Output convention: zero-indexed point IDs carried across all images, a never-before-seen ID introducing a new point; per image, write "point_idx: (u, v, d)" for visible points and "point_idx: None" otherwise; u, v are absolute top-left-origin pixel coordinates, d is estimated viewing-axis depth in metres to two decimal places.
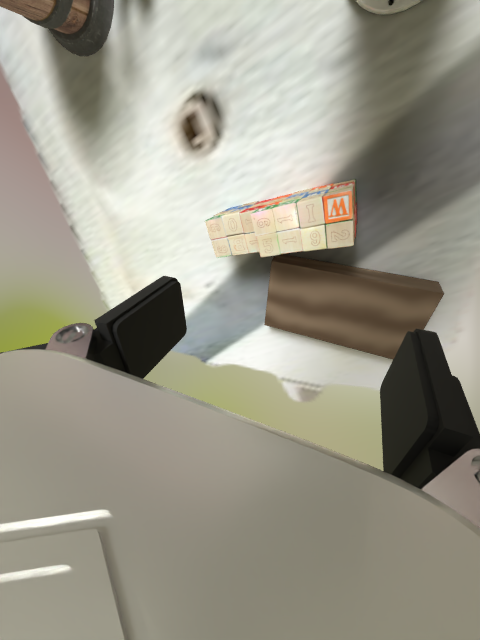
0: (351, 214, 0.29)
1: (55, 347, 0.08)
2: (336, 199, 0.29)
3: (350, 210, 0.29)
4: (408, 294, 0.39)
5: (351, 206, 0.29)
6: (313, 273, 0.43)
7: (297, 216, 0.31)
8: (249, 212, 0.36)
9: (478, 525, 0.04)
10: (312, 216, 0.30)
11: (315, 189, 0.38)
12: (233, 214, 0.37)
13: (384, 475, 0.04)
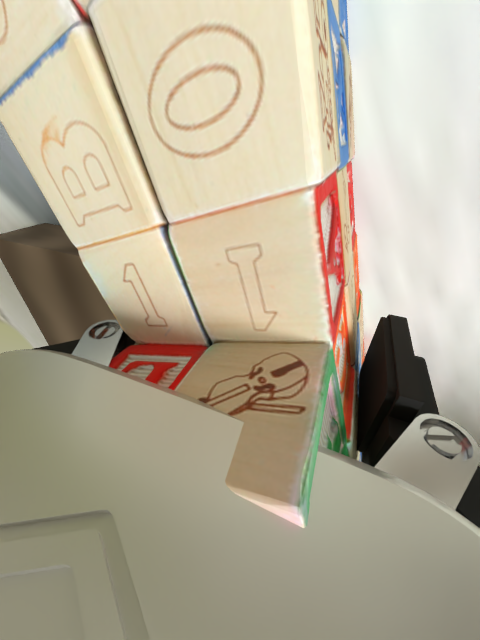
0: None
1: (90, 343, 0.08)
2: None
3: None
4: None
5: None
6: None
7: None
8: (313, 286, 0.05)
9: (418, 471, 0.05)
10: None
11: None
12: (303, 104, 0.03)
13: (384, 475, 0.04)
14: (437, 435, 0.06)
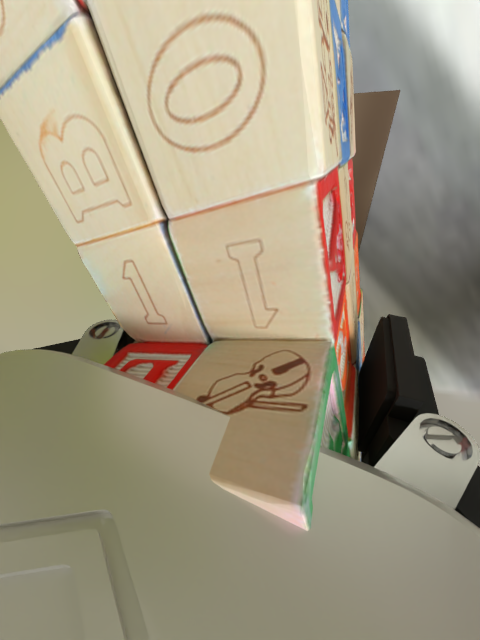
0: None
1: (90, 343, 0.08)
2: None
3: None
4: None
5: None
6: (359, 208, 0.21)
7: None
8: (315, 282, 0.04)
9: (418, 471, 0.05)
10: None
11: None
12: (305, 96, 0.03)
13: (384, 475, 0.04)
14: (437, 435, 0.06)
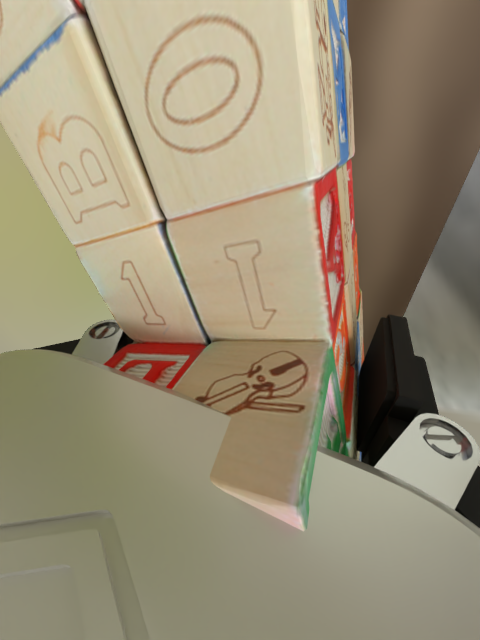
0: None
1: (90, 343, 0.08)
2: None
3: None
4: None
5: None
6: (454, 162, 0.14)
7: None
8: (312, 283, 0.04)
9: (417, 471, 0.05)
10: None
11: None
12: (302, 97, 0.03)
13: (384, 475, 0.04)
14: (437, 435, 0.06)
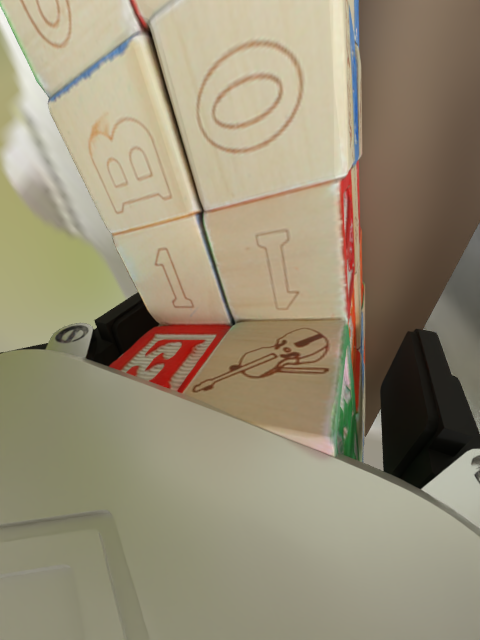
0: None
1: (55, 347, 0.08)
2: None
3: None
4: None
5: None
6: None
7: None
8: (333, 267, 0.05)
9: (478, 525, 0.04)
10: None
11: None
12: (335, 109, 0.04)
13: (384, 475, 0.04)
14: None
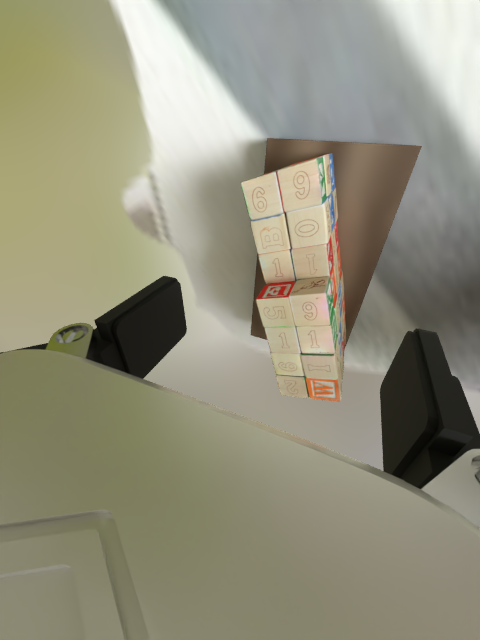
0: (314, 398, 0.26)
1: (55, 347, 0.08)
2: (332, 389, 0.25)
3: (318, 397, 0.26)
4: None
5: (323, 398, 0.26)
6: (380, 231, 0.27)
7: (316, 353, 0.23)
8: (326, 262, 0.21)
9: (478, 525, 0.04)
10: (315, 368, 0.24)
11: (342, 303, 0.31)
12: (325, 231, 0.20)
13: (384, 475, 0.04)
14: None
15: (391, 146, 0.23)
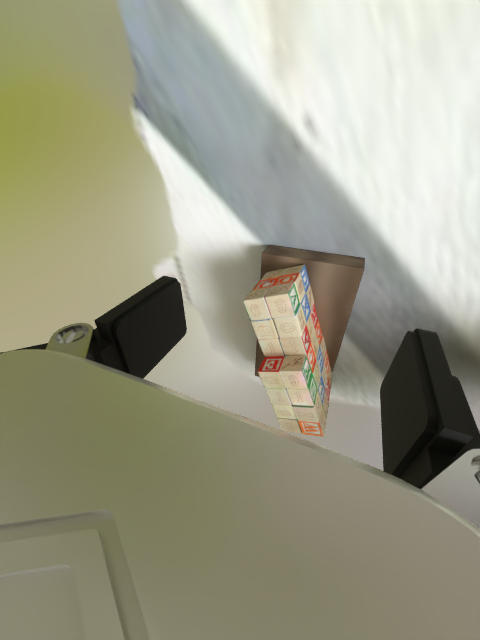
0: None
1: (55, 347, 0.08)
2: (317, 428, 0.35)
3: (308, 433, 0.36)
4: None
5: (311, 434, 0.36)
6: (343, 314, 0.38)
7: (302, 405, 0.34)
8: (302, 346, 0.32)
9: (478, 525, 0.04)
10: (303, 415, 0.34)
11: (325, 358, 0.41)
12: (299, 330, 0.31)
13: (384, 475, 0.04)
14: None
15: (345, 266, 0.34)
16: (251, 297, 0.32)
